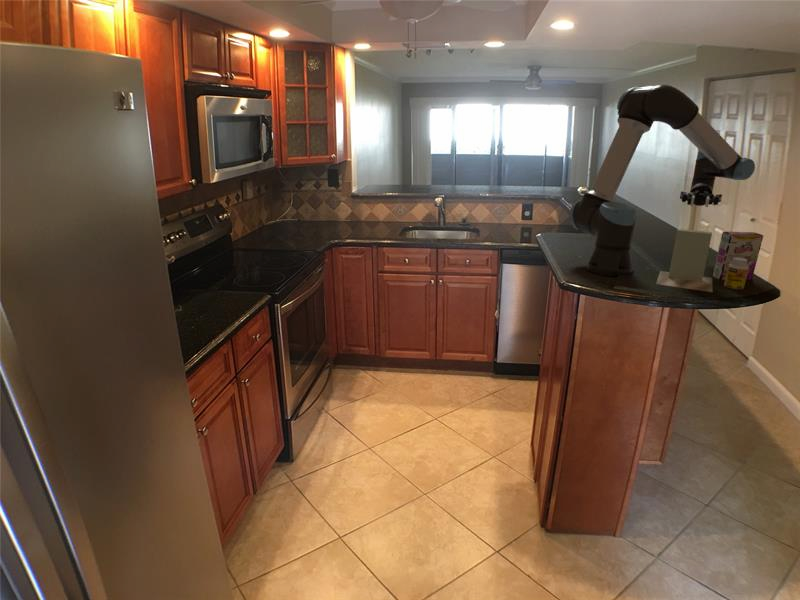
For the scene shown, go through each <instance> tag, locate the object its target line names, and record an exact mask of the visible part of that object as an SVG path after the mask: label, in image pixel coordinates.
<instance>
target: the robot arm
mask: <svg viewBox="0 0 800 600" xmlns="http://www.w3.org/2000/svg"><path fill="white" fill-rule="evenodd" d="M616 110H617V115H618V118H617V123H618V129H617V130H616V133H615V135H614V137H613V139H612V141H611V144H610V145H609V148H608V150H607V153H606V155H605V157H604V158H603V160H602V161H603V162H602V164H601V166H600V168H599V170H598V173H597V175H596V177H595V179H594V182H593V183H592V185H591V188H590V190H587V191H585V192H584V193H583V195H582V198H581V199H579V200H577V201H576V202H574V203H573V204H572V206H571V208H570V210H569V222H570V224H571V226H572V227H573V229H575V230H577V231H579V232H580V233H583V234H587V235H590V236H592V237H595V241H594V242H595V243H594V247H593V248H594V249H593V250H592V253H591V255H590V257H589V258H588V260H587V262H586V263H587V264H586V270H587V271H588V272H590V273H593V274H595V275H596V274H597V275H599V276H600V275H601V276H607V277H618V276H619V275H627V274H628V275H629V274H631V273H632V272H633V271H634V267H633V262H632V261H633V260H632V256H631V247H632V241H633V236H634V231H635V225H636V221H637V220H636V215H637V211H636V209H635V208H634V207H633V206H632V205H629V204H626V203H623V202H618V201H615V195H616V194H617V192H618V190H619V187H620V185H621V183H622V180H623V178H624V176H625V174H626V173H627V169H628V168H629V165H630V164H631V160H632V159H633V157H634V155H635V152H636V150H637V148H638V146H639V144H640V141H641V139H642V137H643V136H644V134H645V133H648V132H649V131H650V130H651V128H652V125H653V124H654V122H660V123H664V124H666V125H668V126H669V127H671V128H672V129H673V130H676V131H677V130H678V131H680V133H681V134H683V135H684V137H686V138H687V139H688V140H689V141H690V142H691V143H692V145H693V146H694V147H696V148H697V149H698V150H699V151H698V152H697V156H696V159H695V164H694V171H693V175H692V181H691V185H690V188H689V189H690V190H689V192H687V191H683V190H682V191H680V195H679V199H680V200H681V202H682V203H686V201H687V203H686V205H688V206H690V207H692V206H697V207H701V206H702V207H703V206H705V208H708V207H709V205H710V206H711V205H714V206H717V205H718V204H719V203H721V202H722V197H723V194H715V195H714V192H713V189H714V185H715V180H716V178H723V179H729V180H734V181H738V180H739V181H746V180H748V179H750V178H752V175H753V174H754V172H755V171H756V169H755V168H756V165H755V161H754V160H753V159H752V158H749V157H748V158H747V157H742V156H740V154H739V153H738V152H737V151H736V150H735V149H734V148H733V147H732V146H731V145H730V144H729V143H728V142H727V141H726V139H724V138H723V136H722V135H721V134H720V133H719V132H718V131H717V130H716V129H715V128H714V127H713V126H712V125H711V124H710V123H709V122H708V121H707V120H706V118H705V117H704V116H702V114H701V113H700V112H699V111H700V107H699V105H698V104H696V103H695V102H694V101H693V99H691V98H690V97H689V96H688V95H687V94H685V93H684V92H683V91H682V90H680V89H678V88H677V87H675V86H672V85H669V84H657V85H654V84H653V85H637V86H635V87H634V86H633V87H631V88H628V89H626V91H625V92H623V93H622V94H621V96H620V98H619V100H618V102H617V106H616Z"/></svg>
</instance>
